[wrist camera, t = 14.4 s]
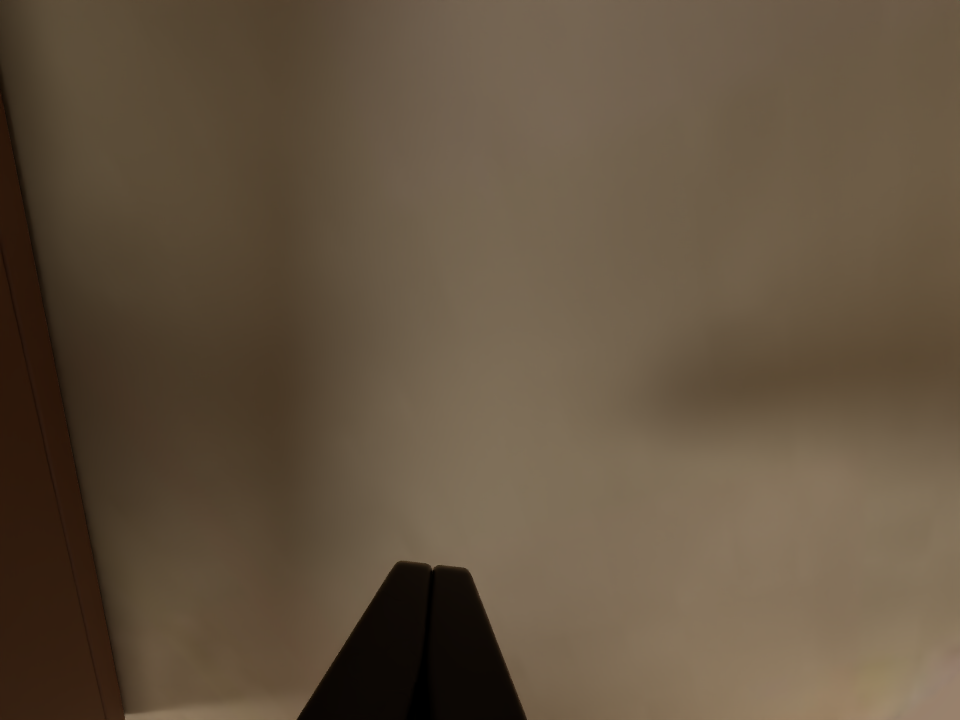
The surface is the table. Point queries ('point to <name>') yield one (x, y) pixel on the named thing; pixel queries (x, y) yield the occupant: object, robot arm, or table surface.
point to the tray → (41, 509)
